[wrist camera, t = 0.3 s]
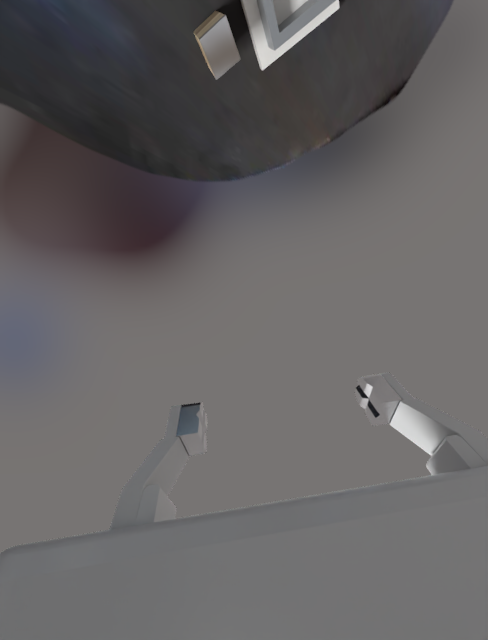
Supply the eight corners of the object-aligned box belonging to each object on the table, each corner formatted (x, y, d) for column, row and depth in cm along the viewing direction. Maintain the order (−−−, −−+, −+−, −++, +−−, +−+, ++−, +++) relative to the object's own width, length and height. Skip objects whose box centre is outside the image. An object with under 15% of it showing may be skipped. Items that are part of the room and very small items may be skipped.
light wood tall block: (193, 31, 33) (199, 39, 28) (215, 10, 32) (225, 15, 27) (208, 67, 36) (216, 79, 31) (229, 49, 35) (240, 59, 30)
